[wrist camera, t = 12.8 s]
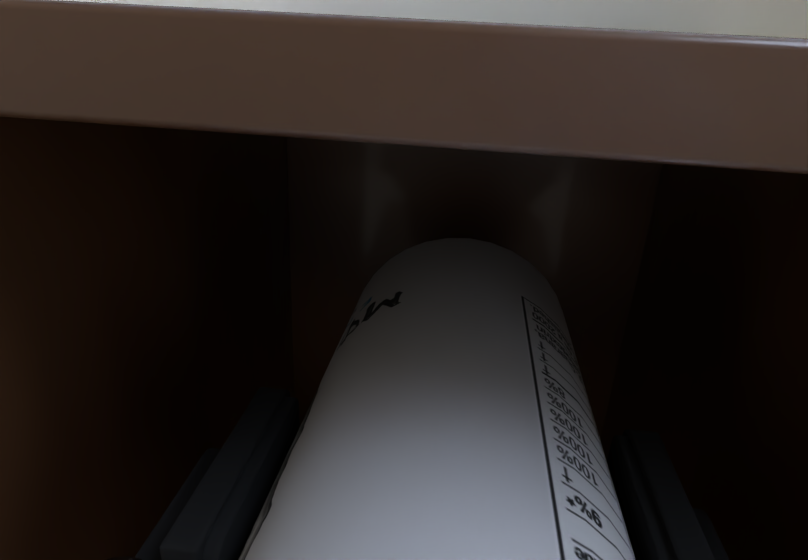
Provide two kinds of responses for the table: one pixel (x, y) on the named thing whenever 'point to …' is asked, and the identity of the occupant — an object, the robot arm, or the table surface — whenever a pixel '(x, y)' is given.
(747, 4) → the table surface
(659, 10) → the table surface
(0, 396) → the chest
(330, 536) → the energy drink can
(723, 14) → the table surface
